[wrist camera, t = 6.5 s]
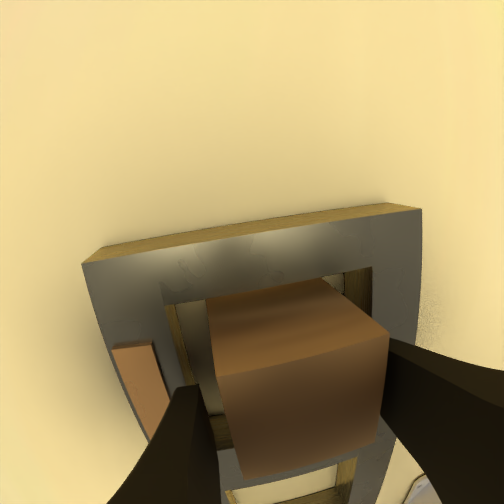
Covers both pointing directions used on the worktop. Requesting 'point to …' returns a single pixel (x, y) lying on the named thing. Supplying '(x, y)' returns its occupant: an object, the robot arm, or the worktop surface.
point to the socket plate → (248, 279)
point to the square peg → (296, 374)
